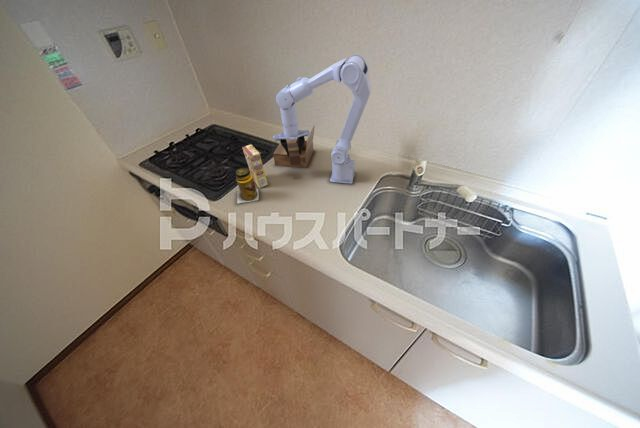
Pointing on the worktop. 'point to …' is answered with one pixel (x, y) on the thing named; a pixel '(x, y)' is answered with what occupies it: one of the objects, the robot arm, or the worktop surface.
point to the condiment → (246, 186)
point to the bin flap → (309, 141)
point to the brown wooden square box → (284, 160)
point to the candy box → (255, 165)
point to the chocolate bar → (294, 153)
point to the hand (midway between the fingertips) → (294, 154)
